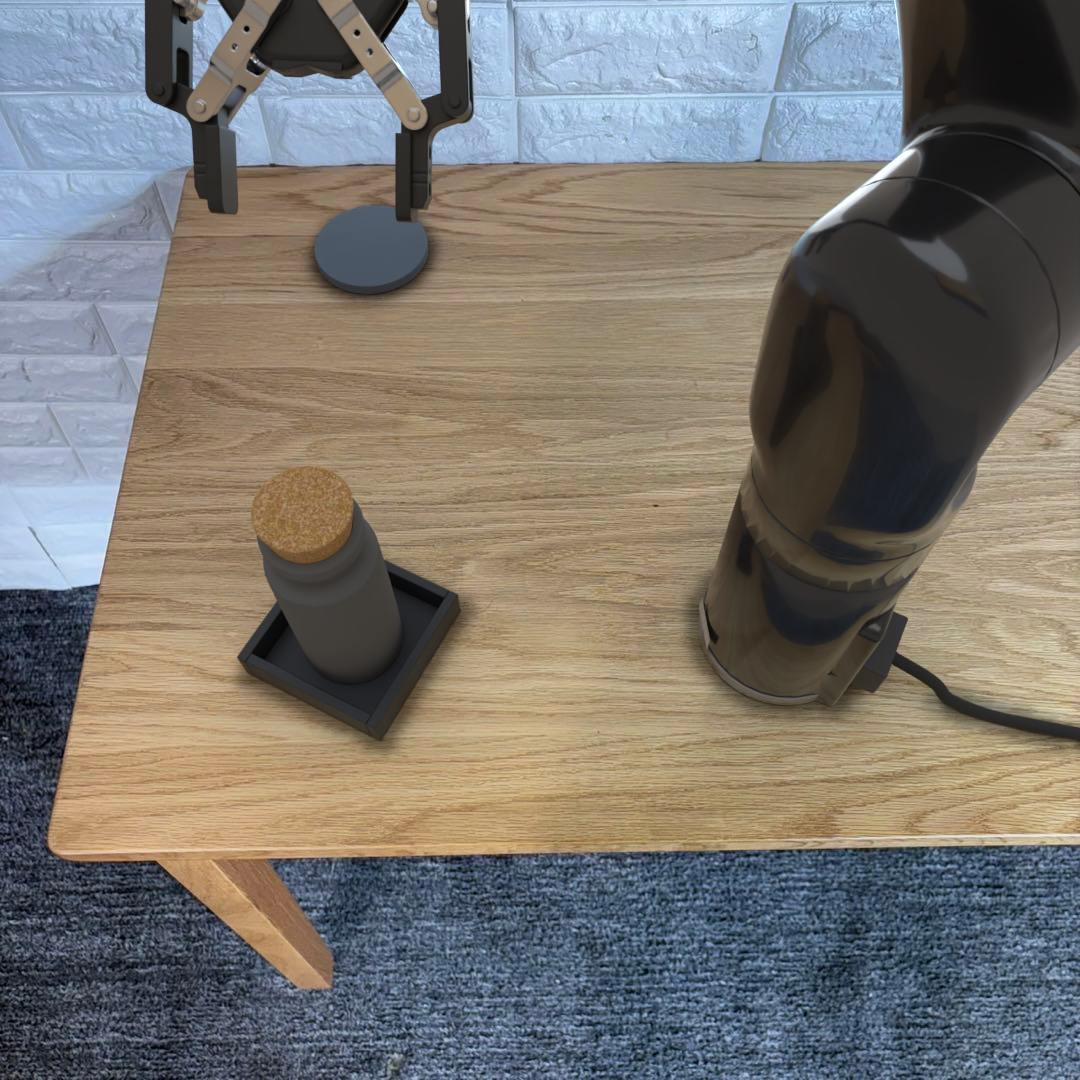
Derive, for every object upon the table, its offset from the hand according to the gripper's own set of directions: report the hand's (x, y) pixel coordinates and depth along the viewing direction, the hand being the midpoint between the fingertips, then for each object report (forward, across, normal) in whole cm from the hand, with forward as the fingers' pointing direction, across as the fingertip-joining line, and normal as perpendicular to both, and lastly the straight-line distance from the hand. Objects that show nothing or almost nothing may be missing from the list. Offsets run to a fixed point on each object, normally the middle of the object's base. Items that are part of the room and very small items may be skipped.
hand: (315, 218), depth 46 cm
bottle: (+24, 0, +7) cm, 25 cm away
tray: (+24, 0, +7) cm, 25 cm away
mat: (+1, -3, +30) cm, 30 cm away
